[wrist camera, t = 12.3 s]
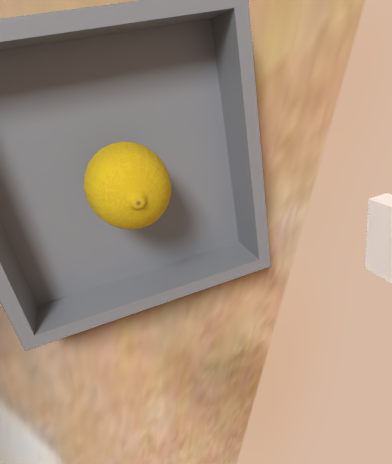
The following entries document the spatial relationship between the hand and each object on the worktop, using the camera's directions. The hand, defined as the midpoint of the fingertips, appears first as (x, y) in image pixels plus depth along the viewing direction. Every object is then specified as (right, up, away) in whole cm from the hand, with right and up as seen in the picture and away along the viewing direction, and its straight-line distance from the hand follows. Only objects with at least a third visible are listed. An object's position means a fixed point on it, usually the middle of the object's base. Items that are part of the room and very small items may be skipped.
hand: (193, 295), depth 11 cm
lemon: (-6, +7, +16) cm, 18 cm away
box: (-6, +7, +16) cm, 19 cm away
